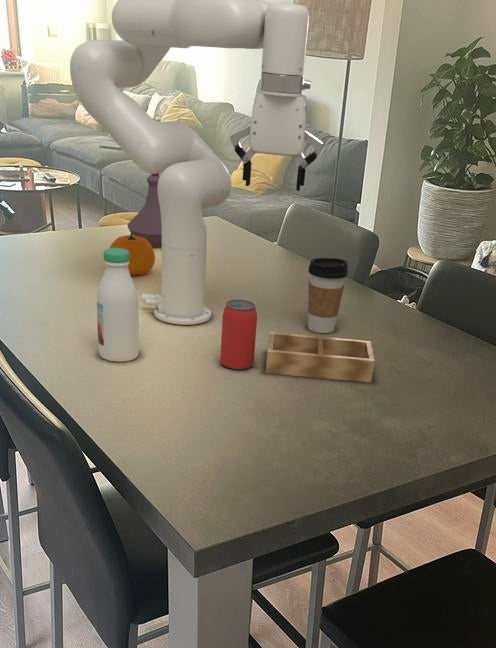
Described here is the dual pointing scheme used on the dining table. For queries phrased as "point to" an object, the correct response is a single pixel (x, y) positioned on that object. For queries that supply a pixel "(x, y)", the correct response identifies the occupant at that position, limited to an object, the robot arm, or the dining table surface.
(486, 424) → the dining table surface
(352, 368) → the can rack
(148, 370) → the dining table surface
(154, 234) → the flask
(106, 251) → the milk bottle
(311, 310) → the coffee cup
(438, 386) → the dining table surface
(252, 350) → the beer can
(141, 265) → the fruit
